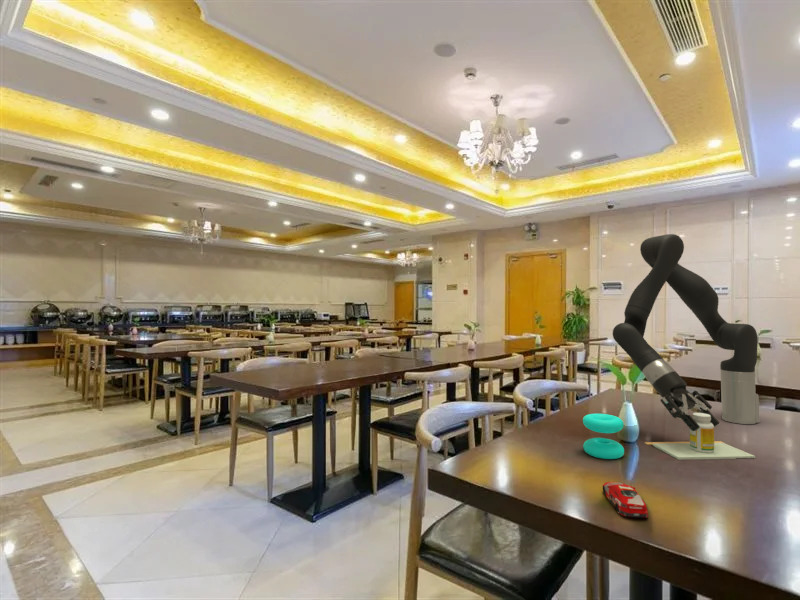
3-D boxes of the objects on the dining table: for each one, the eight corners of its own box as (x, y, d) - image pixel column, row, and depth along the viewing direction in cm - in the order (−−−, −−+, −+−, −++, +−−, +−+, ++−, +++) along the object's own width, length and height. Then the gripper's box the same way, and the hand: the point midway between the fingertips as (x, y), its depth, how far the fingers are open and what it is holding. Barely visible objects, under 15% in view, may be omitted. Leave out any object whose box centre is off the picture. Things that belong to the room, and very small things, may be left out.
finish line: (720, 442, 122) (720, 441, 122) (724, 443, 121) (724, 442, 121) (644, 443, 122) (644, 442, 122) (647, 444, 121) (647, 443, 121)
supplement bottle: (687, 449, 114) (686, 414, 115) (693, 445, 118) (692, 410, 118) (711, 454, 110) (710, 418, 110) (717, 450, 114) (716, 414, 114)
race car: (599, 490, 92) (599, 472, 92) (626, 492, 91) (626, 473, 91) (620, 520, 79) (619, 498, 79) (651, 522, 78) (651, 501, 78)
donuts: (628, 416, 114) (617, 424, 107) (629, 453, 114) (618, 463, 107) (590, 410, 121) (577, 417, 114) (590, 445, 121) (577, 454, 114)
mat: (722, 444, 120) (722, 442, 120) (755, 458, 109) (755, 456, 109) (652, 445, 120) (652, 443, 120) (678, 459, 109) (678, 457, 109)
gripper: (656, 372, 118) (700, 423, 108) (687, 368, 124) (733, 416, 114) (639, 388, 123) (679, 438, 113) (670, 383, 129) (712, 431, 118)
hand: (706, 427), depth 113 cm, fingers open, 8 cm apart
